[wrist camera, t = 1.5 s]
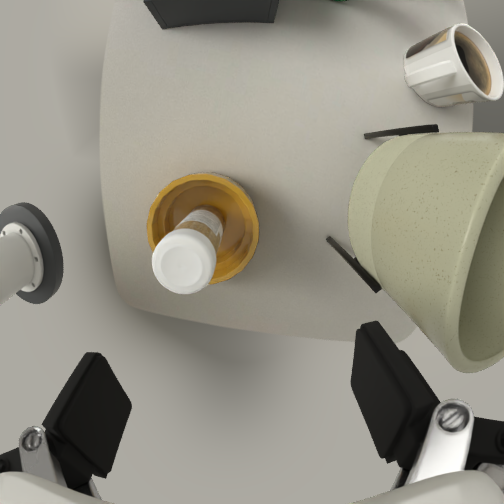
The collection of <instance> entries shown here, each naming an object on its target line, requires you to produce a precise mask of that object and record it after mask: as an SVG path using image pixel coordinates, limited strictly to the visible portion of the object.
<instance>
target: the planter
mask: <svg viewBox="0 0 504 504" xmlns="http://www.w3.org/2000/svg"><path fill="white" fill-rule="evenodd" d="M433 132H439V129H438V125H437V124H434V125H423V126H414V127H406V128H398V129H391V130H384V131H378V132H372V133H366V134H364V137H365V139H368V138H376V137H385V136H394V135H399V137H396V138H393V139H391V140H388V141H387V142H385V143H383V144H382V145H381V146H379V147H378V148H377V149H376V150H375V151H374V152H373V153H372V154H371V155H370V156H369V157H368V159H367V160H366V161H365V163H364V164H363V166H362V167H361V169H360V171H359V173H358V175H357V177H356V180H355V182H354V185H353V188H352V191H351V195H350V200H349V207H348V230H349V237H350V241H351V245H352V248H353V251H354V253H355V256H356V257H355V258H352V257H351V256H350V255H349V254H348V253H347V252H346V251H345V250H344V249H343V248H342V247H341V246H340V245H339V244H338V243H337V242H336V241H334V240H333V239H332V238H331V237H328V238H327V239H326V240H327V242H328V243H329V244H330V245H331V246H332V247H333V248H334V249H335V250H336V251H337V252H338V253H339V254H340V255H341V256H342V258H343V259H344V260H345V261H346V262H347V263H348V264H349V265H350V266H351V267H352V268H353V269H354V270H355V271H356V272H357V273H358V275H359V276H360V277H361V278H362V279H363V280H364V281H365V282H366V283H367V284H368V285H369V286H370V288H371V289H372V290H373V291H374V292H375V293H377V292H378V291H380V290H381V289H383V290H384V291H385V292H386V293H387V294H388V295H389V296H390V297H391V298H392V299H393V300H394V301H395V302H396V303H397V304H398V305H399V307H400V308H401V309H402V310H403V311H404V312H405V313H406V314H407V315H408V316H409V317H410V318H411V319H412V321H413V322H414V323H415V324H416V325H417V326H418V327H419V328H420V329H421V331H422V332H423V333H424V334H425V335H426V336H427V337H428V339H429V340H430V341H431V342H432V343H433V344H434V345H435V347H436V348H437V349H438V350H439V351H440V352H441V354H442V355H443V356H444V357H445V358H446V360H447V361H448V362H449V363H450V364H451V365H452V367H453V368H455V369H456V370H457V371H460V372H463V373H474V372H478V371H482V370H484V369H486V368H488V367H490V366H492V365H494V364H495V363H497V362H498V361H499V360H501V359H502V358H503V357H504V133H493V132H492V133H491V132H449V133H433ZM418 133H427V134H418ZM408 134H412V135H408Z"/></svg>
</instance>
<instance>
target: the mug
mask: <svg viewBox="0 0 504 504" xmlns="http://www.w3.org/2000/svg"><path fill="white" fill-rule="evenodd" d="M404 69H405V73H406V75H405V76H404V79H405V81H406V83H407V85H408V87H410V88H413V89H414V90H415V92H416V93H417V94H418V95H419V96H420V97H421V98H422V99H423V100H424V101H426V102H427V103H429V104H431V105H433V106H436V107H446V106H452V105H459V104H467V103H476V102H485V101H495V100H498V99H499V98H500V97H501V96H502V93H503V90H504V80H503V74H502V70H501V67H500V64H499V62H498V59H497V57H496V55H495V53H494V51H493V50H492V48H491V47H490V45H489V44H488V42H487V41H486V40H485V39H484V38H483V36H481V34H480V33H478V32H477V31H476V30H475V29H473V28H472V27H470V26H468V25H466V24H460V23H459V24H455V25H453V26H451V27H449V28H447V29H445V30H443V31H441V32H438V33H436V34H434V35H432V36H430V37H429V38H427V39H425V40H423V41H421V42H419V43H417V44H415V45H413V46H412V47H410V48H409V49H408V50H407V51H406V53H405V56H404Z"/></svg>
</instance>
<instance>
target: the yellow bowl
mask: <svg viewBox="0 0 504 504" xmlns="http://www.w3.org/2000/svg"><path fill="white" fill-rule="evenodd" d="M200 205H211V206H213V207H216V208H217V209H218V210H220V212H221V213H222V215H223V216H224V219H225V229H224V232H223V235H222V239H221V243H220V246H219V248H218V251H217V254H216V266H215V270H214V273H213V276H212V278H211V280H210V282H209V283H208V284H215V283H219V282H222V281H225V280H228V279H230V278H232V277H233V276H235V275H236V274H237V273H239V272H240V271H242V270H243V269H244V268H245V266H246V265H247V264H248V262H249V261H250V260H251V258H252V257H253V255H254V252H255V249H256V246H257V244H258V240H259V221H258V217H257V213H256V210H255V207H254V204H253V201H252V199H251V197H250V196H249V195H248V193H247V192H246V191H245V189H244V188H243V187H242V186H241V185H240V184H238V183H237V182H235V181H234V180H232V179H231V178H230V177H227V176H224V175H221V174H217V173H214V172H206V173H194V174H191V175H187V176H185V177H182V178H180V179H177V180H175V181H173V182H171V183H170V184H169V185H168V186H166V187H165V188H164V189H163V190H162V191H161V192H159V194H158V196H157V197H156V199H155V201H154V202H153V204H152V206H151V208H150V211H149V216H148V220H147V234H148V241H149V244H150V247H151V249H152V251H153V252H154V250H155V248H156V246H157V245H158V243H159V242H160V241H161V240H162V239H163V238H164V237H165V236H166V235H167V234H168V233H170V232H172V231H173V230H174V229H175V227H176V226H177V225H178V224H179V223H180V222H181V221H182V220H183V219H185V218H186V217H187V216H188V215H189V214H190V212H191V211H192V210H193V209H194V208H196V207H198V206H200Z"/></svg>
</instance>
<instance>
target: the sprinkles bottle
mask: <svg viewBox="0 0 504 504" xmlns="http://www.w3.org/2000/svg"><path fill="white" fill-rule="evenodd" d="M224 229H225V219H224V216H223V215H222V213H221V212H220V210H218V209H217V208H216V207H213V206H211V205H200V206H198V207H196V208H194V209H193V210H192V211H191V212H190V214H189V215H188V216H187V217H186V218H185V219H183V220H182V221H181V222H180V223H179V224H178V225H177V226H176V227H175V229H174V230H173V231H172V232H170V233H168V234H167V235H166V236H165V237H164V238H163V239H162V240H161V241H160V242H159V243H158V245H157V246H156V248H155V250H154V252H153V256H152V268H153V272H154V274H155V276H156V278H157V279H158V281H159V282H160V283H161V284H162V285H163V286H164V287H165V288H167V289H168V290H170V291H172V292H175V293H178V294H192V293H196V292H198V291H200V290H202V289H203V288H205V287H206V286H207V285H208V283H209V282H210V280H211V278H212V276H213V273H214V270H215V266H216V254H217V251H218V248H219V246H220V243H221V239H222V235H223V232H224Z"/></svg>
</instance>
